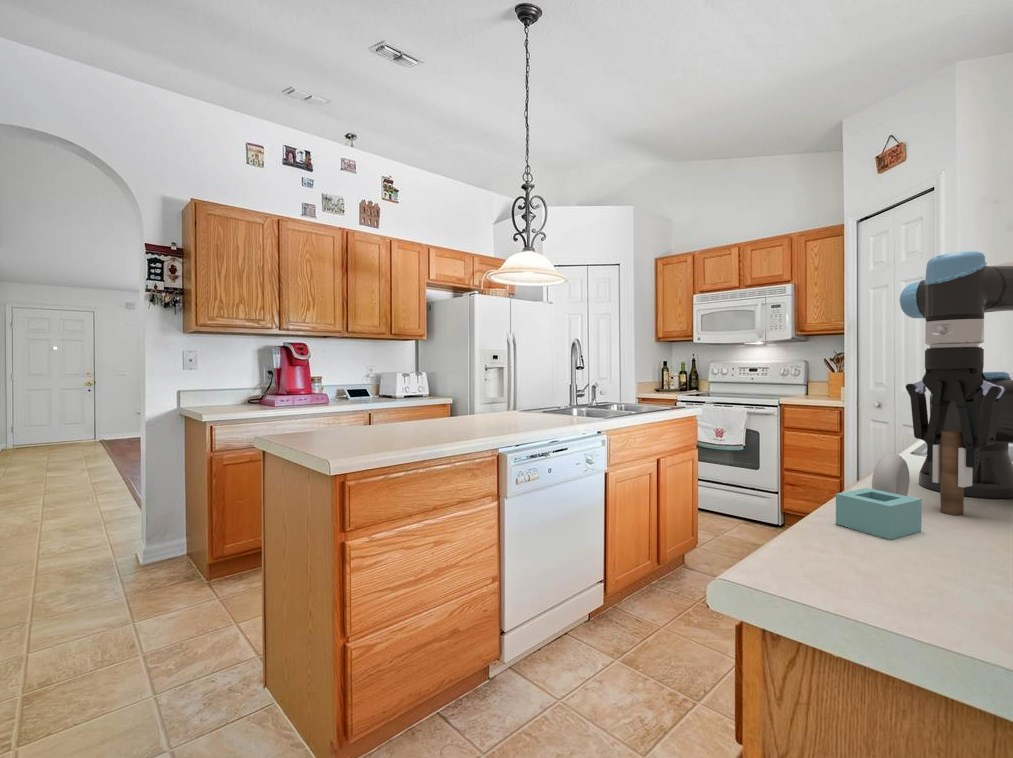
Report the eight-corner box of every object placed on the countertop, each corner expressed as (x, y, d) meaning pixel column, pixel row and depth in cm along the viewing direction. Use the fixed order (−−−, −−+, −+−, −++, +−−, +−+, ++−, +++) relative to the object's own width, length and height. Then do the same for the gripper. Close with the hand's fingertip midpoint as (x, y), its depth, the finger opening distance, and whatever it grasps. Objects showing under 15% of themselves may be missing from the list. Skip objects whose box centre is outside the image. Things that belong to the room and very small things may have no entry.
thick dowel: (946, 509, 90) (947, 429, 89) (967, 513, 87) (968, 431, 86) (936, 511, 88) (937, 431, 88) (957, 516, 86) (958, 433, 85)
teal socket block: (866, 517, 86) (866, 487, 86) (921, 531, 79) (921, 499, 79) (835, 524, 83) (835, 493, 83) (889, 539, 75) (890, 506, 75)
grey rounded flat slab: (892, 518, 85) (892, 458, 85) (868, 513, 88) (868, 455, 88) (912, 507, 91) (912, 451, 91) (889, 502, 94) (889, 448, 94)
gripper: (888, 347, 92) (887, 476, 93) (1003, 344, 78) (1001, 497, 79) (912, 347, 95) (911, 472, 96) (1027, 344, 81) (1025, 491, 82)
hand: (952, 483), depth 87 cm, fingers closed on thick dowel, 3 cm apart
